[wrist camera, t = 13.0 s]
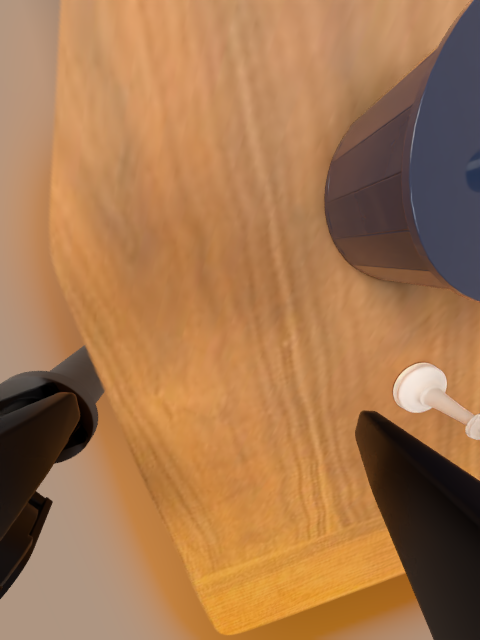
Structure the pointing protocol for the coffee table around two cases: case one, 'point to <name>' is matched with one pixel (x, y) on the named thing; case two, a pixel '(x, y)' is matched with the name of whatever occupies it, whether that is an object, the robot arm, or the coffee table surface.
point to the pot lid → (447, 159)
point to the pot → (376, 189)
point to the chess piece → (431, 396)
